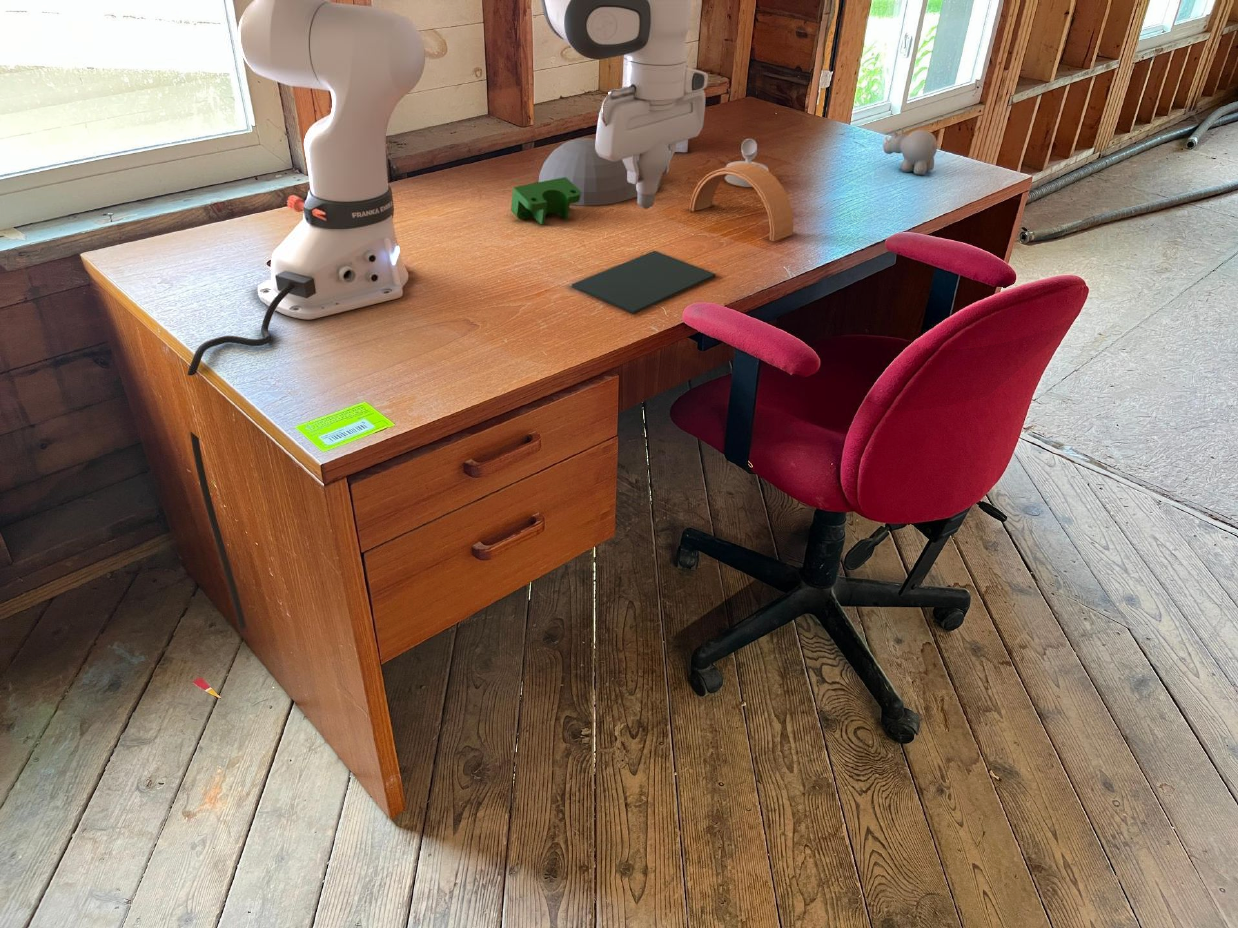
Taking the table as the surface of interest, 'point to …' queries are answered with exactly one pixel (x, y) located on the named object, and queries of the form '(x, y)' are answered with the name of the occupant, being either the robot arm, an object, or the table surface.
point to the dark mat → (643, 281)
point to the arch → (764, 186)
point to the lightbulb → (651, 173)
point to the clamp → (544, 199)
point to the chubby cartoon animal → (913, 150)
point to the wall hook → (748, 153)
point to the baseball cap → (589, 173)
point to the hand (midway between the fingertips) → (648, 177)
